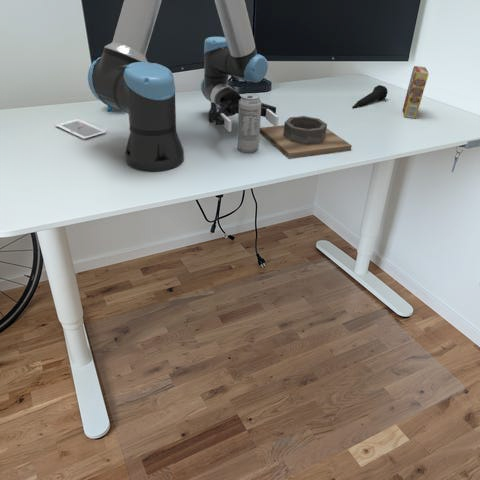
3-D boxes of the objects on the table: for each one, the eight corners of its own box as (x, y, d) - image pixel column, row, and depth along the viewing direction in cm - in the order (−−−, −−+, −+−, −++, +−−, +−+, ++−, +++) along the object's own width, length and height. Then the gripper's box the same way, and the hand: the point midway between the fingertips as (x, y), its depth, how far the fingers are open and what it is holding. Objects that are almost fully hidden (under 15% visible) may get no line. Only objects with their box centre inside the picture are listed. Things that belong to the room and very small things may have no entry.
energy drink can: (261, 147, 131) (264, 94, 123) (254, 155, 126) (257, 100, 118) (241, 143, 133) (243, 91, 124) (234, 151, 128) (235, 97, 119)
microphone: (355, 118, 165) (386, 100, 175) (361, 104, 160) (393, 87, 171) (344, 110, 167) (375, 93, 177) (349, 96, 162) (381, 80, 172)
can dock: (350, 150, 132) (354, 131, 129) (288, 158, 125) (290, 139, 122) (316, 126, 147) (318, 109, 144) (259, 132, 141) (260, 114, 137)
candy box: (417, 119, 157) (429, 73, 148) (404, 117, 157) (415, 71, 149) (414, 110, 164) (426, 66, 155) (402, 109, 165) (413, 65, 156)
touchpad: (78, 122, 143) (77, 115, 142) (107, 135, 135) (106, 128, 134) (55, 128, 138) (54, 121, 137) (84, 142, 130) (83, 135, 129)
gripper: (263, 108, 145) (294, 132, 128) (186, 115, 136) (209, 142, 120) (265, 84, 140) (297, 106, 124) (186, 90, 132) (209, 114, 116)
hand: (254, 124), depth 122 cm, fingers open, 13 cm apart
